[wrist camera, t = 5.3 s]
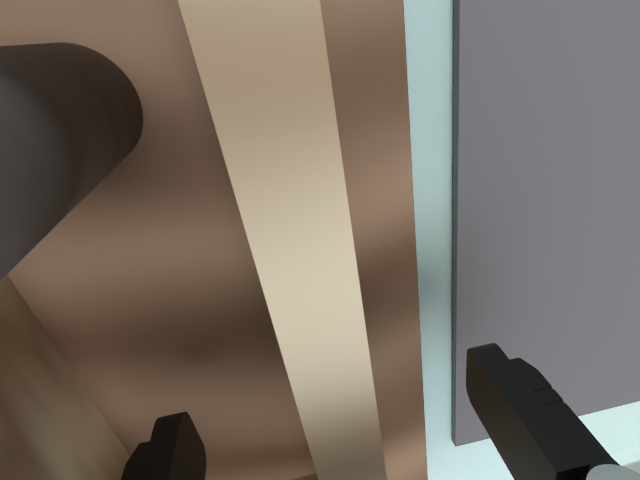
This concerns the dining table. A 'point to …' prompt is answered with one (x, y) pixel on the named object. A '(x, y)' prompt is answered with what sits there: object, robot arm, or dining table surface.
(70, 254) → the post stand
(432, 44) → the dining table surface
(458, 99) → the rubber mat
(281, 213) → the wooden open box
